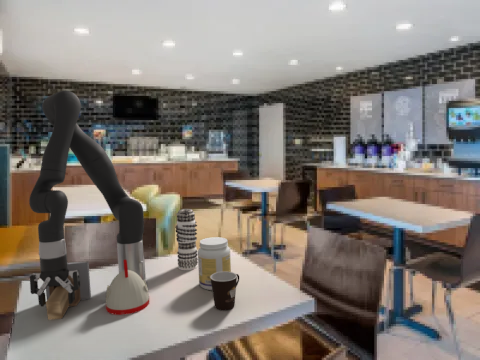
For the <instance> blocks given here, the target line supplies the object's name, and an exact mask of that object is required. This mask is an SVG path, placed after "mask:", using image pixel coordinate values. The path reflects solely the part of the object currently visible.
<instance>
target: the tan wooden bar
mask: <svg viewBox="0 0 480 360" xmlns="http://www.w3.org/2000/svg"><path fill="white" fill-rule="evenodd" d="M68 293H69V292H68V291H67V290H66V289H65V288H63V287H62V285H60V286H56V288H55V289H54V291H53V292H52V294H51V295H50V297H49V298H48V300H47V299H46V304H45V306H46V307H45V308H46V314H47V320H48V321H51V320H61V319H62V320H63V318H64V316H65V314H66V312H67V310H68V308H69V305H70V304H69V299H68Z"/></svg>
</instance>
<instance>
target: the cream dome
mask: <svg viewBox="0 0 480 360" xmlns="http://www.w3.org/2000/svg"><path fill="white" fill-rule="evenodd" d="M146 281H147V280H146ZM146 281H145V280H142V279H141V277H140V276H139V275H138V274H137V273H135V272H133V271H131V270H128V268H127V260H124V271H122V272H120V273H119V272H118V273H117V274H116V275H115V277H114V278H113V279H112V281H111V283H110V284H109V285H107V287H106V292H105V293H106V294H105V310H106V312H107V313H109V314H112V315H116V316H117V315H120V316H122V315H124V316H125V315H131V314H135V313H138V312H140V311H142V310H145V309H146V308H147V307H148V306H149V305H150V294H149V289H148V285H147V282H146Z"/></svg>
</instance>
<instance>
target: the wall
mask: <svg viewBox="0 0 480 360" xmlns="http://www.w3.org/2000/svg"><path fill="white" fill-rule="evenodd" d="M67 264H68V270H69V271H75V270H76V269H78V270H79V276H80V296H81V300H80V301H82V300H83V301H84V300H90V299H91V298H92V293H91V292H92V291H91V290H92V289H91V279H90V266H89V261H75V262H67ZM49 297H50V292H49V286H47V287H46V289H45V298H46V301H47V300H48V298H49Z"/></svg>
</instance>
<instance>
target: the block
mask: <svg viewBox="0 0 480 360" xmlns="http://www.w3.org/2000/svg"><path fill="white" fill-rule="evenodd" d="M67 278H68V279H69V280H70V282H71V284H72V285H73V286H74V282H73V278H71V276H70V275H69V276H68V277H67ZM55 288H56V286H52V287H49V292H50V295H51V294H52V292H53V291H54V289H55ZM80 301H82V300H81V296H80V287H79V289H78V290H75V300H74V301H73V303H72V304H70V305H69V307H70V308H71V307H77V306H78V304H79V303H80ZM69 307H68V308H69Z"/></svg>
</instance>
